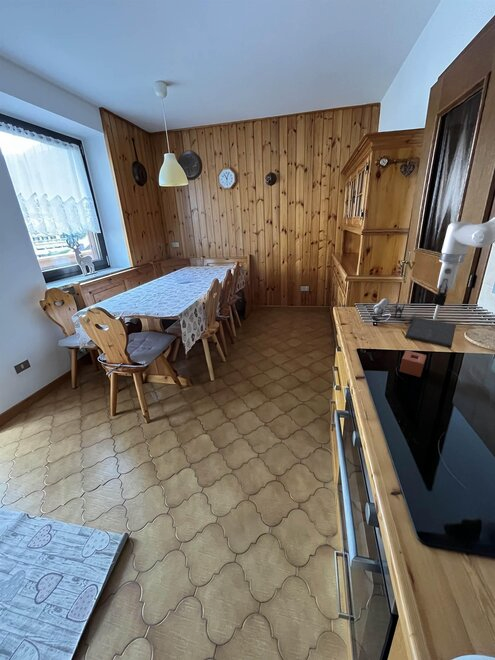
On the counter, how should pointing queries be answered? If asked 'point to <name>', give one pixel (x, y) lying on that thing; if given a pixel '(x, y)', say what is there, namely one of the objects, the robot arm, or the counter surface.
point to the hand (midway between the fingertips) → (439, 303)
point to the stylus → (436, 312)
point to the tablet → (431, 332)
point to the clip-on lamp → (383, 305)
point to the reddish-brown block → (412, 363)
